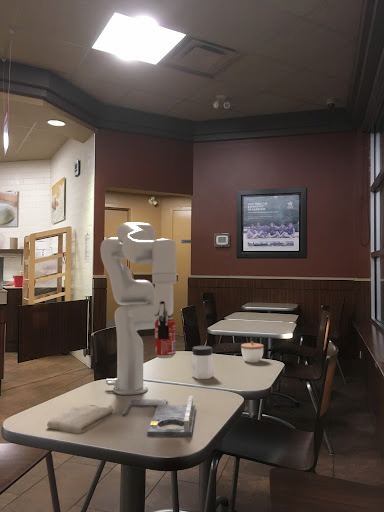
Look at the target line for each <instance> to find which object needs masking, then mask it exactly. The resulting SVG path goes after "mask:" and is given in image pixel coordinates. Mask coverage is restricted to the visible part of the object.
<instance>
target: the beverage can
mask: <svg viewBox="0 0 384 512" xmlns="http://www.w3.org/2000/svg"><path fill="white" fill-rule="evenodd" d="M158 320H159V317H158V318H157V320H156V322H155V328H154V344H155V345H154V350H155V351H154V354H155V356H156V357H157V358H159V359H172V358H174V356H175V355H176V353H177V351H176V348H177V345H176V343H177V342H176V321H175V320H174V317H173V316H171V317H168V326H169V339H158ZM165 320H166V319H165Z"/></svg>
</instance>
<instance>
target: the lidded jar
mask: <svg viewBox="0 0 384 512" xmlns="http://www.w3.org/2000/svg"><path fill="white" fill-rule="evenodd" d="M264 347H265V346H264V344H262V343H257V342H254V341H251V342H248V343H247V342H246V343H241V345H240V349H241V354H242V355H241V356H242V357H243V359H244V360H245V362H247V363H253V364H254V363H259V362H260V361H261V359H262V358H263V355H264Z"/></svg>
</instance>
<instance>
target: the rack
mask: <svg viewBox="0 0 384 512" xmlns="http://www.w3.org/2000/svg"><path fill="white" fill-rule="evenodd" d="M195 414H196V405H195V404H194V396H193V395H189V396H188V400H187V404H166V405H158V407H156V409H155V412H154V414H153V417H152V419H151V422H150V423H149V426H148V428H147V431H146V436H147V437H188V438H189V437H192V435H193V429H194V421H195ZM169 424H172V425H173V424H175V425H181V427H178V428H164V427H161V426H163V425H169Z"/></svg>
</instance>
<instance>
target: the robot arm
mask: <svg viewBox="0 0 384 512" xmlns="http://www.w3.org/2000/svg"><path fill="white" fill-rule="evenodd" d="M115 236H116V237H109V238H105V239H104V240H102V242H101V243H100V248H99V249H100V258H101V261H102V264H103V266H104V268H105V270H106V271H107V274H108V277H109V281H110V286H111V290H112V296H113V299H114V301H115V302H116V303H117V304H118V305H120V306H119V307H117V308H116V310H115V311H114V324H115V329H116V331H115V332H116V340H117V341H116V350H117V351H116V352H117V353H116V354H117V355H116V356H117V360H116V361H117V367H116V369H117V370H116V372H117V373H116V375H117V376H116V377H115V378H106V380H105V384H106V385H107V386H113V387H112V392H113V393H115V394H117V395H124V396H132V395H139V394H143V393H145V392H147V391H148V389H149V388H148V385H147V384H145V383H144V341H143V338H142V337H141V336H140V335H139V333H138V331H140V330H152V329H155V322H156V320H157V318H158V317H159V320H158V339H169V326H168V317H172V314H173V313H174V285H175V284H177V244H176V241H175V240H173V239H170V238H159V239H156V230H155V228H154V226H153V225H151V224H150V223H147V222H124V223H121V224H120V225H119V226H118V227H117V229H116V235H115ZM121 259H122V260H121ZM123 259H124V260H125V259H126V260H128V261H129V262H130V263H133V264H136V265H137V264H140V265H141V264H151V270H152V271H151V273H152V274H151V275H152V277H151V281H152V282H151V281H150V280H146V279H134V278H133V276H132V272H131V270H130V268H129V267H128V265H126V263H124V262H123ZM165 319H166V320H165Z"/></svg>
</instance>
